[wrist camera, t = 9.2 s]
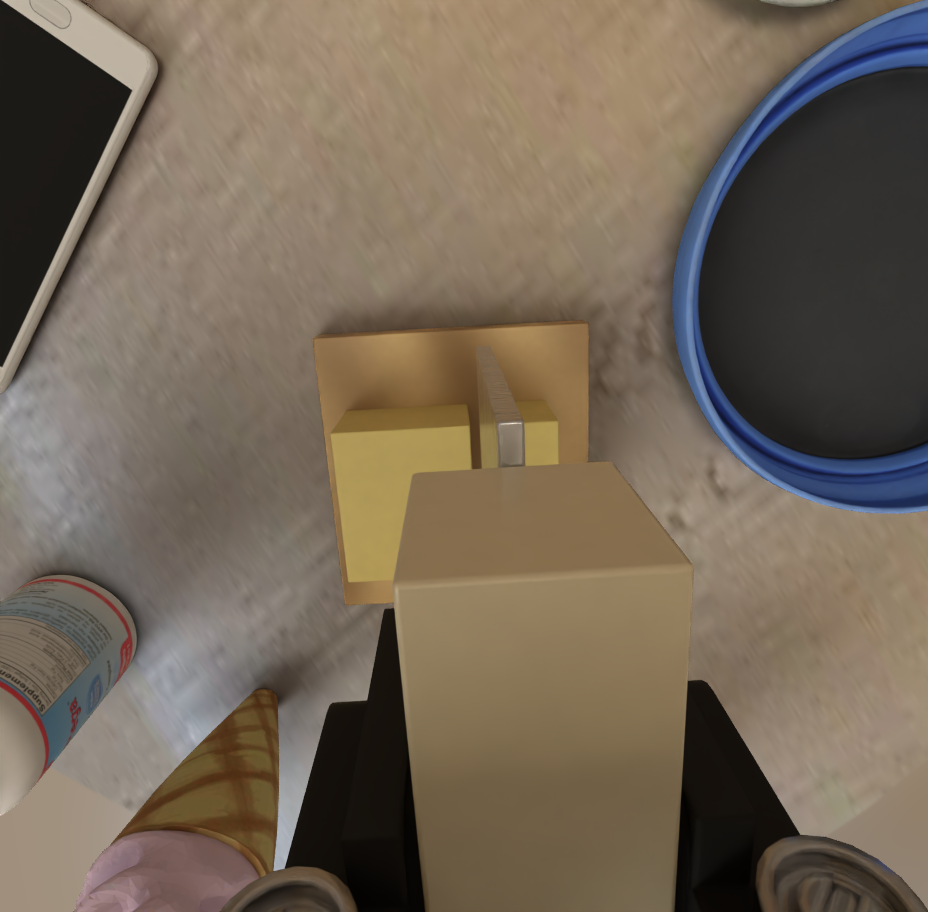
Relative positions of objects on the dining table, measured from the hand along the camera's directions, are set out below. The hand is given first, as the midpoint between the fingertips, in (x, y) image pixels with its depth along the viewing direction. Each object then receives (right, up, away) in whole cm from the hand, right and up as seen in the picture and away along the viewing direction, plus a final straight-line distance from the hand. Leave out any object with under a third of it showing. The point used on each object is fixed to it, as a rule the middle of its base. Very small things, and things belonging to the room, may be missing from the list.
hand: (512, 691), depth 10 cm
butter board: (-1, +3, +19) cm, 19 cm away
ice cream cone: (-11, -9, +22) cm, 26 cm away
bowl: (+16, +11, +17) cm, 26 cm away
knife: (0, +1, +4) cm, 5 cm away
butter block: (-3, +3, +17) cm, 18 cm away
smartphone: (-19, +14, +15) cm, 28 cm away
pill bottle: (-19, -5, +21) cm, 29 cm away
